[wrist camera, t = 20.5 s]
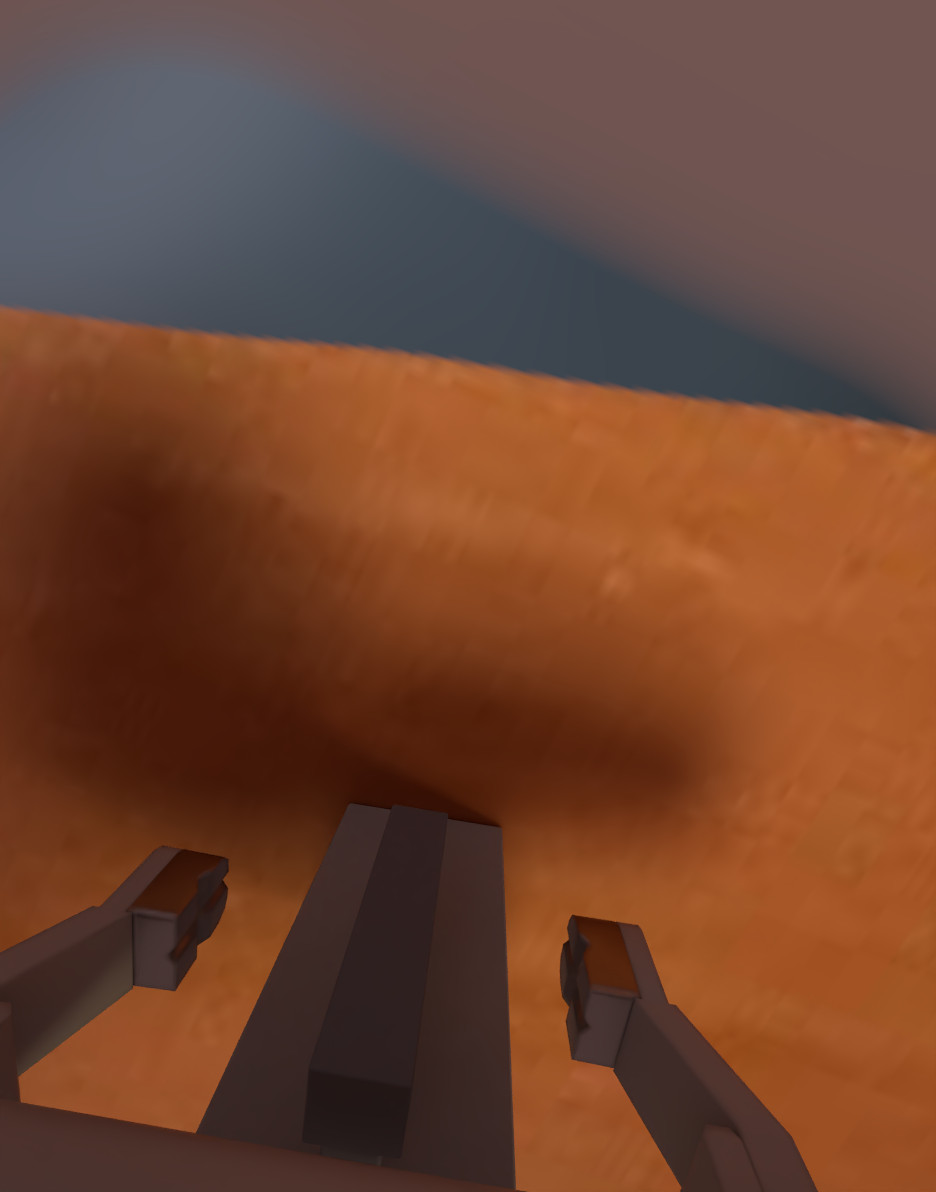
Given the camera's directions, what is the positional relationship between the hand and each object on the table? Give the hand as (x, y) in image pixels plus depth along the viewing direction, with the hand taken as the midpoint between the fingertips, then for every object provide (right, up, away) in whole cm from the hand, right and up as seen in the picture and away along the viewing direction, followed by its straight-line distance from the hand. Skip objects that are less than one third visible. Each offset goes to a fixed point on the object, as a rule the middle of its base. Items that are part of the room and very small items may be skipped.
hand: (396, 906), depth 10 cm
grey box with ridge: (-1, -8, +3) cm, 9 cm away
